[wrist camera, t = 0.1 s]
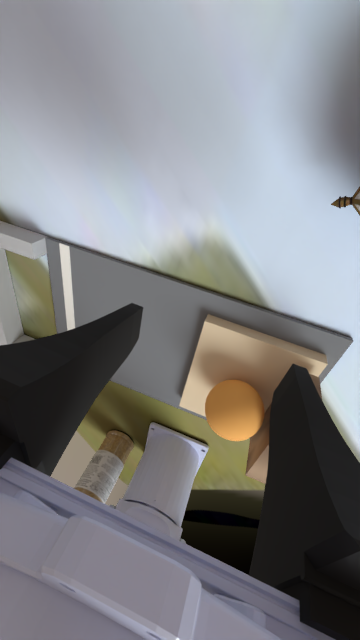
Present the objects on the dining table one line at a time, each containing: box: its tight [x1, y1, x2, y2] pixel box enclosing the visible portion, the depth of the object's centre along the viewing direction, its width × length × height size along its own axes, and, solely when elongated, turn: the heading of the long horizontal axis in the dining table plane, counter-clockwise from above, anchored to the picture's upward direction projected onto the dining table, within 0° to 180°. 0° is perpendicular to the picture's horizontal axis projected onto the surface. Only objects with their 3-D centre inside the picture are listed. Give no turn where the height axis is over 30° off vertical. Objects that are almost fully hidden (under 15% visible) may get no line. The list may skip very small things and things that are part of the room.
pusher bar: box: [246, 374, 322, 484], centre depth 23 cm, size 10×2×4 cm, turn 170°
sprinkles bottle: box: [74, 430, 134, 504], centre depth 36 cm, size 5×5×14 cm
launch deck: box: [0, 221, 353, 420], centre depth 27 cm, size 16×34×2 cm, turn 80°
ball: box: [205, 380, 264, 441], centre depth 23 cm, size 5×5×5 cm
